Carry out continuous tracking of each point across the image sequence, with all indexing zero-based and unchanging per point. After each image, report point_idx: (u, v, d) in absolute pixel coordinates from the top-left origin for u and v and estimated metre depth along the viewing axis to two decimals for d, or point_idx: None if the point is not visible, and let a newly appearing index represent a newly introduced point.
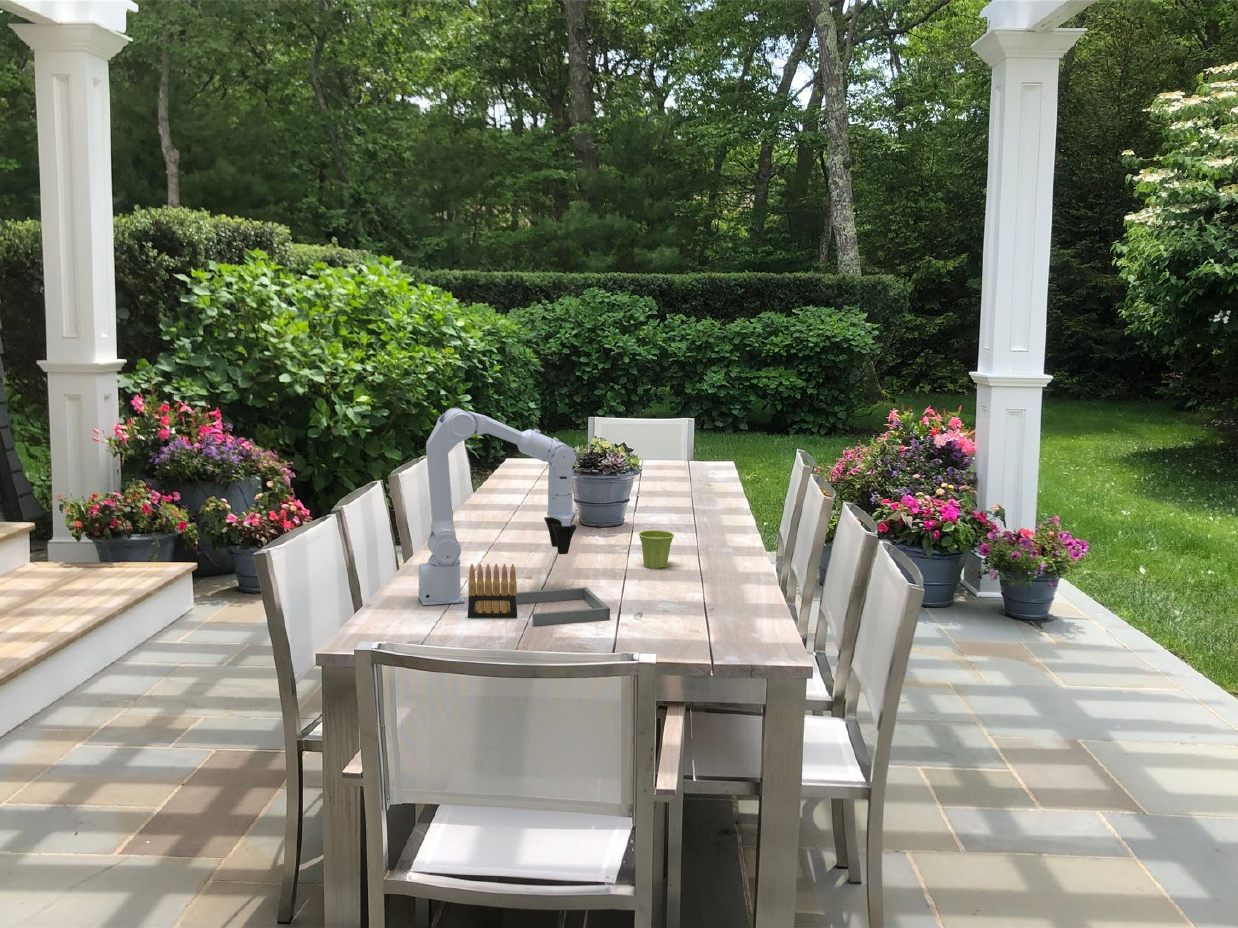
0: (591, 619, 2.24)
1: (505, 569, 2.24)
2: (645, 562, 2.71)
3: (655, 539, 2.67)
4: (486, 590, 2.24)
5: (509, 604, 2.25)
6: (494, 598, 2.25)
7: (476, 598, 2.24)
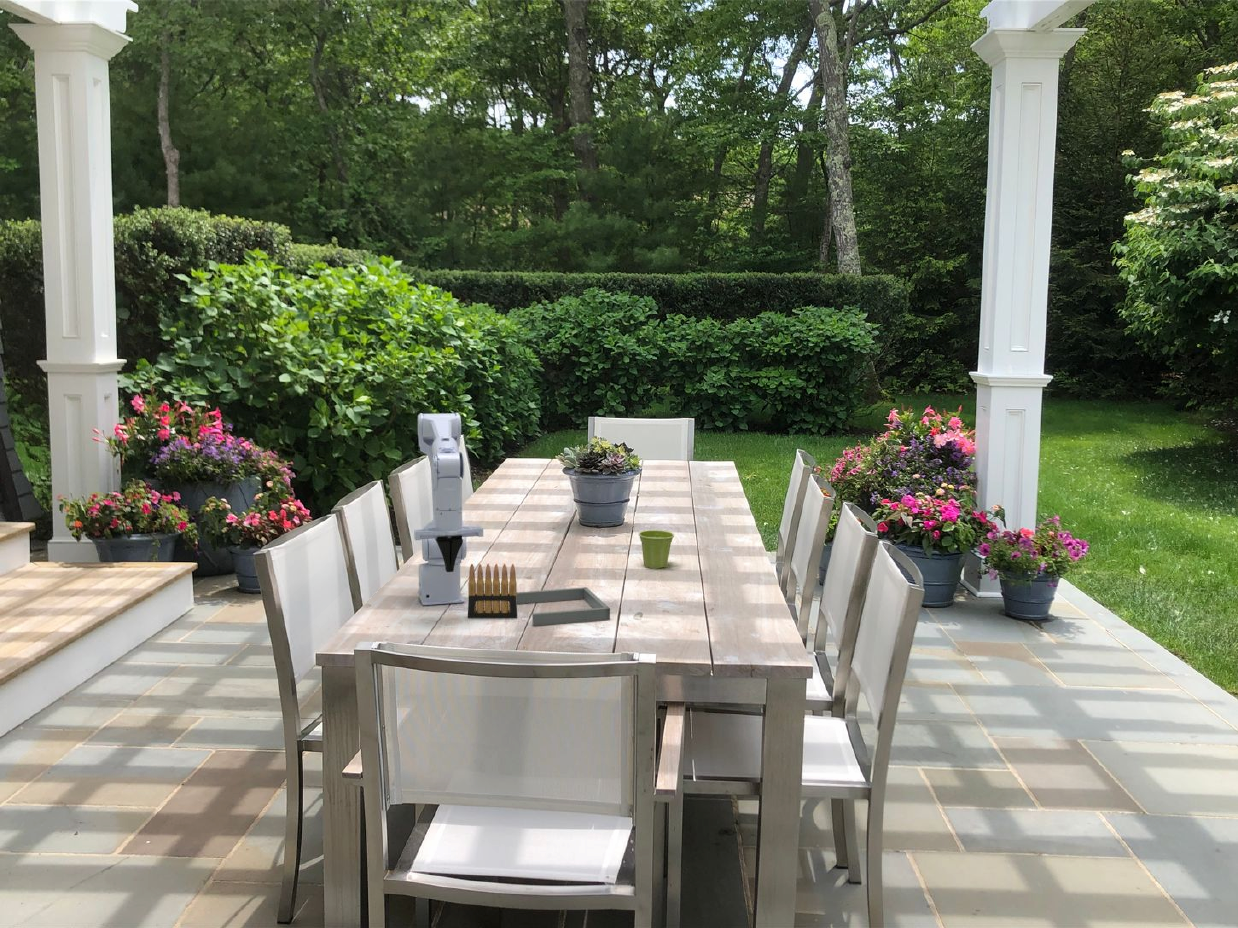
0: (591, 619, 2.24)
1: (505, 569, 2.24)
2: (645, 562, 2.71)
3: (655, 539, 2.67)
4: (486, 590, 2.24)
5: (509, 604, 2.25)
6: (494, 598, 2.25)
7: (476, 598, 2.24)
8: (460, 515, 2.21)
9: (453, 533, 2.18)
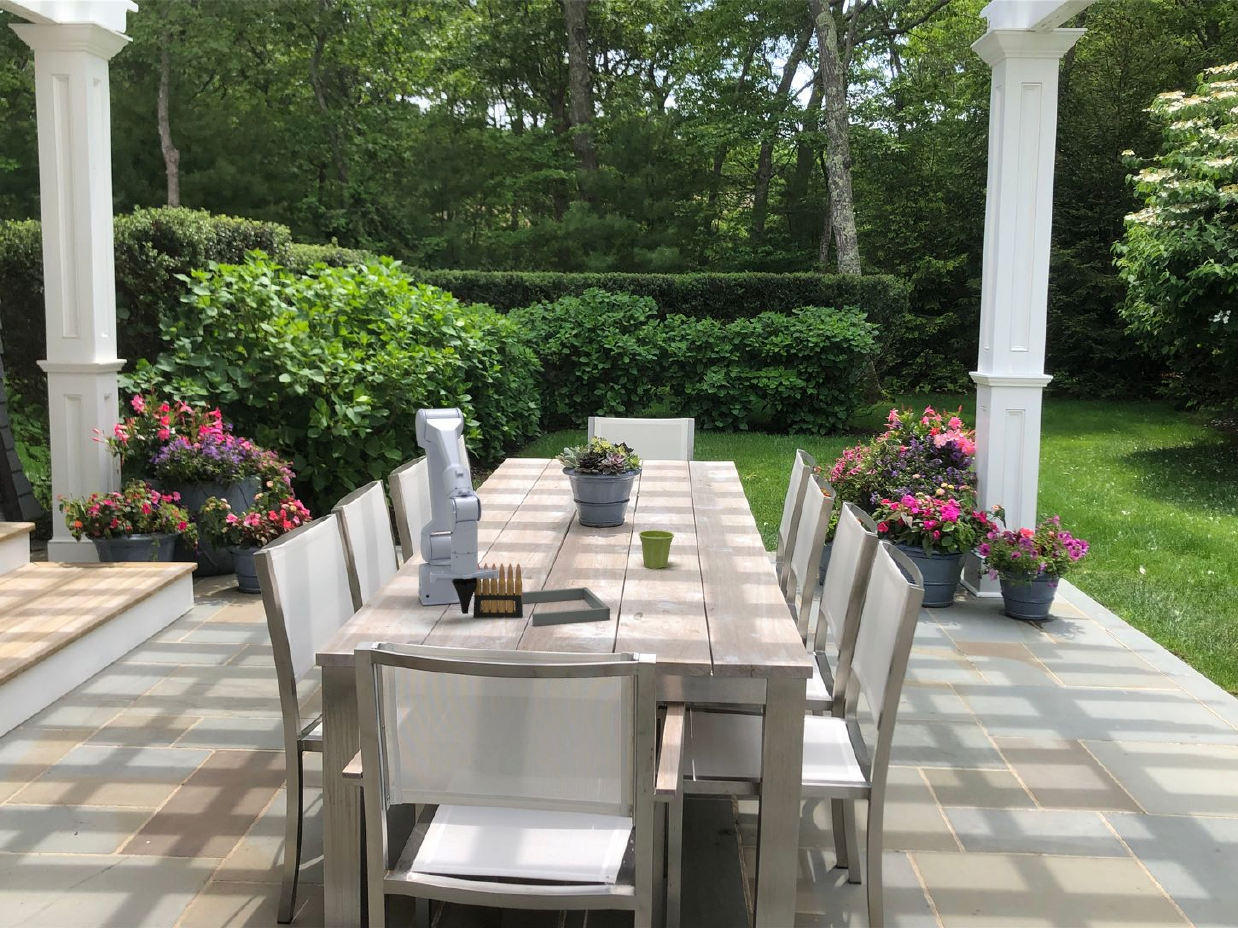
0: (591, 619, 2.24)
1: (511, 569, 2.25)
2: (645, 562, 2.71)
3: (655, 539, 2.67)
4: (492, 589, 2.25)
5: (515, 604, 2.26)
6: (500, 597, 2.25)
7: (482, 597, 2.25)
8: (476, 558, 2.21)
9: (468, 576, 2.19)
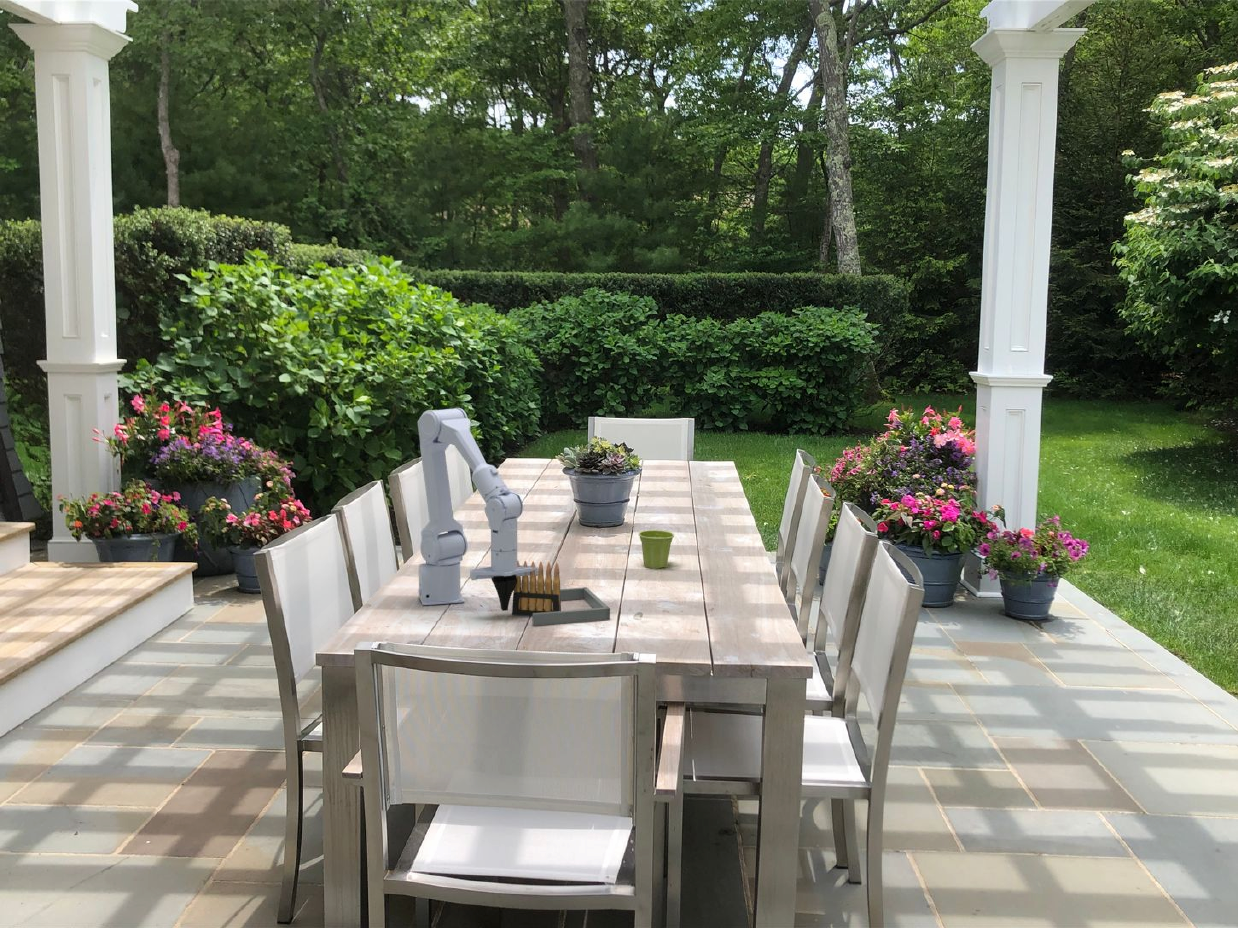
0: (591, 619, 2.24)
1: (549, 567, 2.26)
2: (645, 562, 2.71)
3: (655, 539, 2.67)
4: (530, 587, 2.27)
5: (552, 603, 2.26)
6: (537, 596, 2.26)
7: (520, 595, 2.27)
8: (515, 555, 2.24)
9: (509, 574, 2.22)
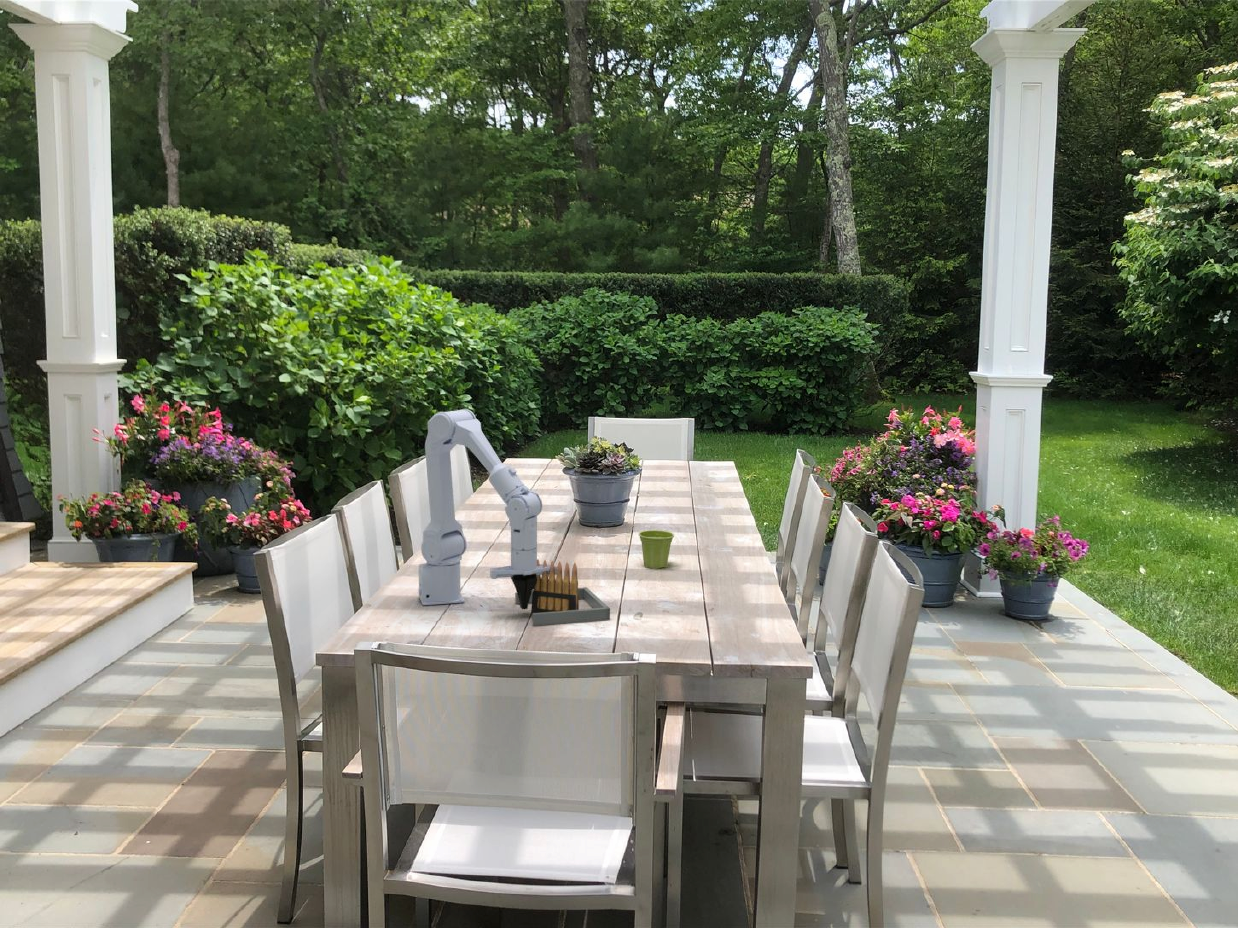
0: (591, 619, 2.24)
1: (567, 567, 2.26)
2: (645, 562, 2.71)
3: (655, 539, 2.67)
4: (549, 587, 2.27)
5: (569, 603, 2.26)
6: (555, 595, 2.27)
7: (539, 593, 2.28)
8: (535, 554, 2.25)
9: (529, 572, 2.23)
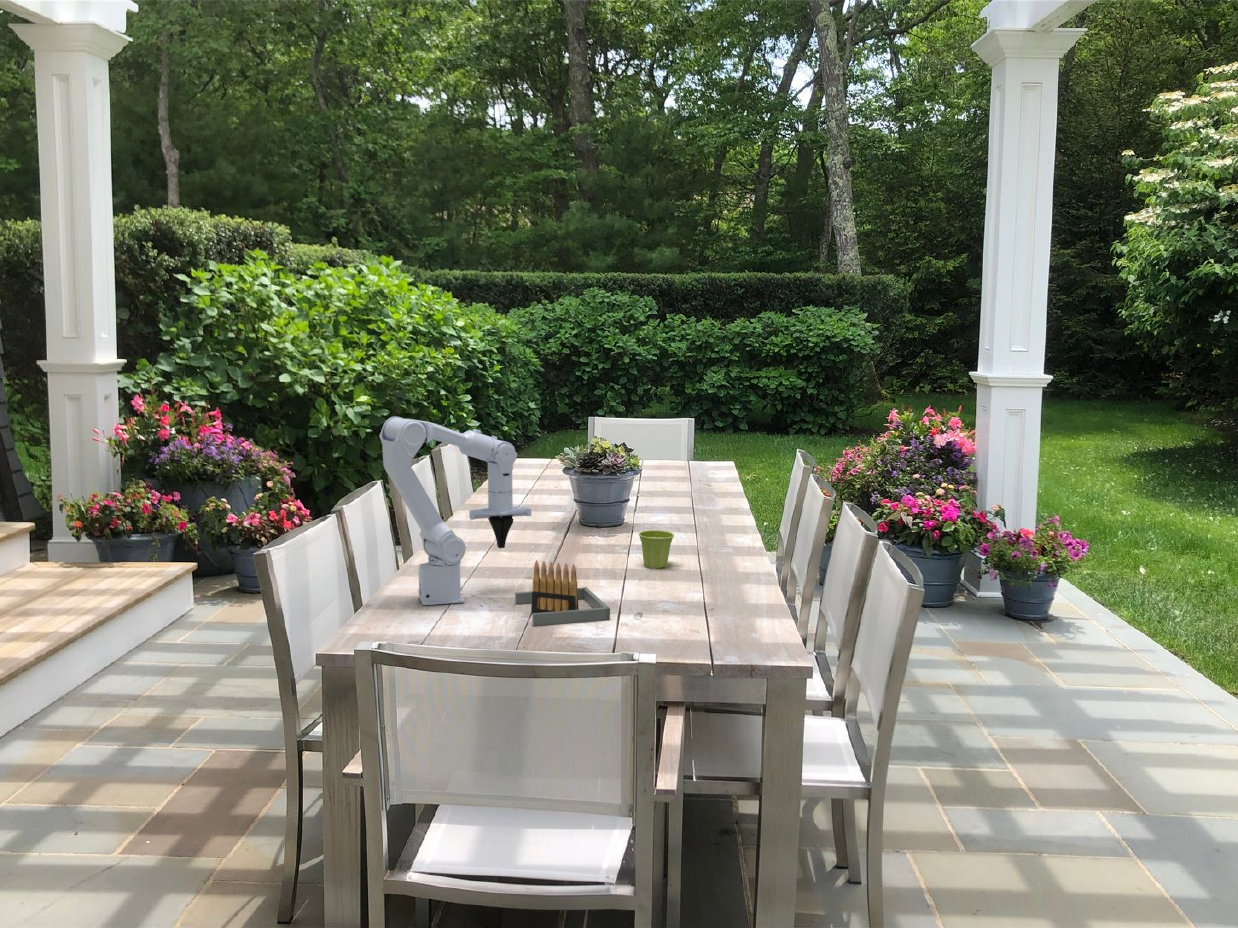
0: (591, 619, 2.24)
1: (566, 569, 2.25)
2: (645, 562, 2.71)
3: (655, 539, 2.67)
4: (548, 587, 2.27)
5: None
6: (555, 596, 2.27)
7: (539, 594, 2.28)
8: (511, 497, 2.43)
9: (505, 513, 2.41)
